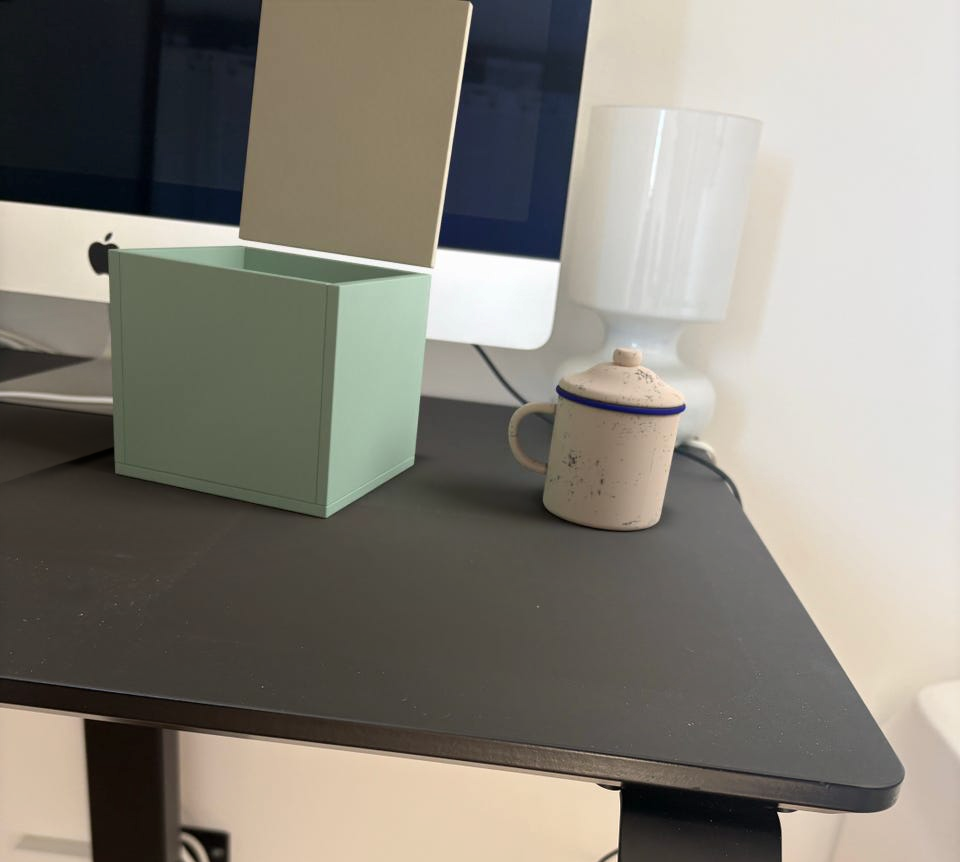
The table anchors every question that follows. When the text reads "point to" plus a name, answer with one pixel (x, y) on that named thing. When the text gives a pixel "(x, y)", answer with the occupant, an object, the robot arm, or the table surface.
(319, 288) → the green open box
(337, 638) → the table surface
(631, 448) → the teacup with lid
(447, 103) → the lid
